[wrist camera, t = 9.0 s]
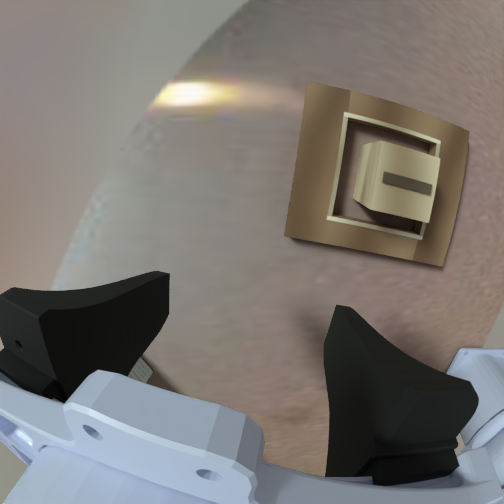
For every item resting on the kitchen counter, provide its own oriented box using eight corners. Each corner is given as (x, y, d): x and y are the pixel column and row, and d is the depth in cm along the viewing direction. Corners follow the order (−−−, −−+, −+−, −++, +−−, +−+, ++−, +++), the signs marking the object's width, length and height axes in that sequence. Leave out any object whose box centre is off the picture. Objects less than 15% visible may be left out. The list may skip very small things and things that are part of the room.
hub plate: (461, 132, 16) (469, 131, 15) (436, 261, 20) (442, 267, 19) (307, 86, 18) (307, 81, 16) (284, 232, 21) (283, 236, 20)
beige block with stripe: (409, 158, 18) (442, 158, 13) (401, 209, 19) (430, 223, 14) (361, 145, 18) (382, 140, 14) (352, 198, 20) (370, 210, 15)
